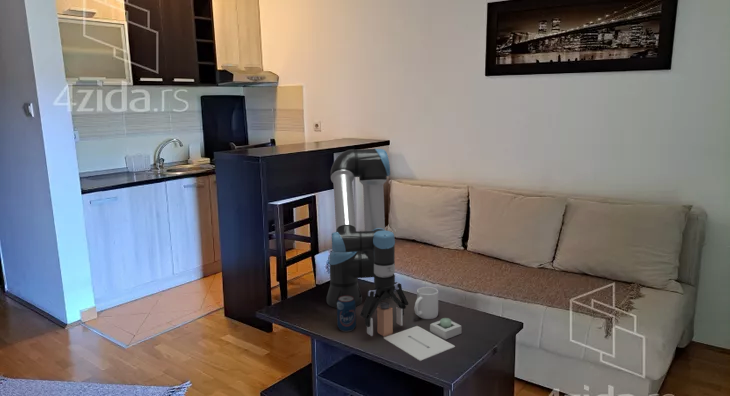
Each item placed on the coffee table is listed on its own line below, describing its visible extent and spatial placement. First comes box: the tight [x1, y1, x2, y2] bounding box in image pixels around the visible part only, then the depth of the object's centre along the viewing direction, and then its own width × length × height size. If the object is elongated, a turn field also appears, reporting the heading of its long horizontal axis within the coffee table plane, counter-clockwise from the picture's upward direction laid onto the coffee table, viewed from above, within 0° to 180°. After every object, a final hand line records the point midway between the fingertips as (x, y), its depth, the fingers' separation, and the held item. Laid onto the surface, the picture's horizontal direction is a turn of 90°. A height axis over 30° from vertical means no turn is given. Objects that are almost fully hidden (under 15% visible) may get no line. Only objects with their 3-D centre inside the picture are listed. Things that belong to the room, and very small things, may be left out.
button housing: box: [429, 320, 462, 341], centre depth 185 cm, size 8×8×3 cm
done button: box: [439, 317, 452, 329], centre depth 184 cm, size 4×4×3 cm
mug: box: [413, 286, 439, 320], centre depth 198 cm, size 12×8×10 cm
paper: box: [383, 325, 456, 362], centre depth 178 cm, size 20×16×1 cm
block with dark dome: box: [376, 301, 394, 338], centre depth 184 cm, size 4×4×11 cm
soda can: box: [336, 295, 357, 332], centre depth 189 cm, size 7×7×12 cm
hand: (385, 329), depth 185 cm, fingers open, 13 cm apart
